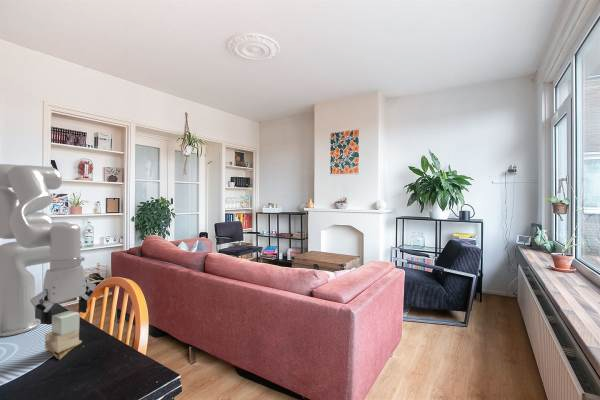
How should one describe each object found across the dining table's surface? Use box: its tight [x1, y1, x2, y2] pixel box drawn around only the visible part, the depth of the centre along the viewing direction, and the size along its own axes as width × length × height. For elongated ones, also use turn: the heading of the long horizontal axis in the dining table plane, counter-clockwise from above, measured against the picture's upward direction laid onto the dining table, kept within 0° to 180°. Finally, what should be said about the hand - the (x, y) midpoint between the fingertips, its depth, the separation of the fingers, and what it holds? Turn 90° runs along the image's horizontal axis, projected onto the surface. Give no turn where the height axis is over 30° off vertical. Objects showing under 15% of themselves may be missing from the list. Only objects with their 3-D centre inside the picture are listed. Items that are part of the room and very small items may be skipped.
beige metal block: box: [44, 328, 80, 353], centre depth 92 cm, size 6×6×5 cm
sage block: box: [51, 310, 81, 335], centre depth 92 cm, size 5×5×5 cm
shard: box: [50, 339, 83, 360], centre depth 92 cm, size 11×8×2 cm
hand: (65, 317), depth 93 cm, fingers open, 9 cm apart
